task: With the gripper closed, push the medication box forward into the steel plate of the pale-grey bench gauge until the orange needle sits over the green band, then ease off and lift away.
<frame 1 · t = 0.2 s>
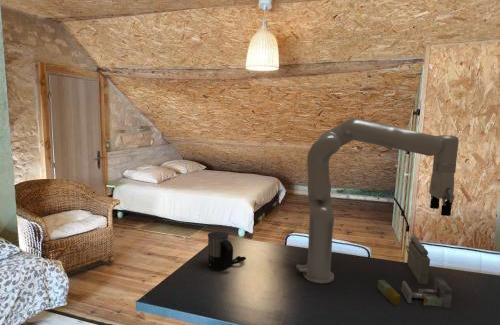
hand: (439, 211, 128), 31 cm above the table, tool pointing down, fingers open, 9 cm apart
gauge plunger: (421, 294, 121), point 3 cm above the table, slide at 0.0 cm
milk frother: (226, 265, 148), on the table
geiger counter: (413, 270, 146), on the table
gauge housing: (434, 300, 122), on the table
medication box: (387, 297, 125), on the table
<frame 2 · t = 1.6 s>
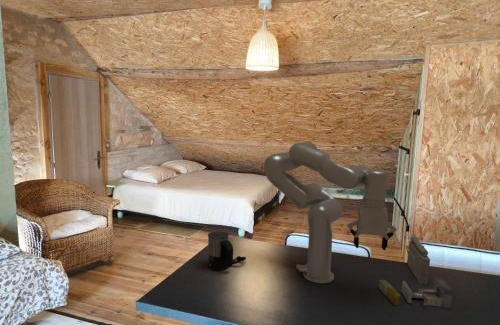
hand: (369, 247, 123), 18 cm above the table, tool pointing down, fingers open, 9 cm apart
nothing on the table moved.
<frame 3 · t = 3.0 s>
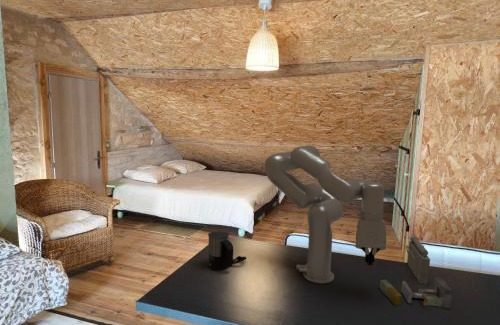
hand: (369, 263, 124), 12 cm above the table, tool pointing down, fingers closed
nothing on the table moved.
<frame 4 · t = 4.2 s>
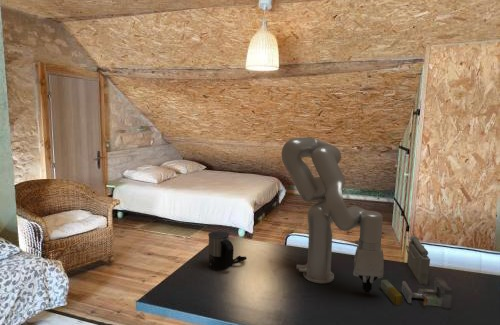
hand: (366, 290, 125), 1 cm above the table, tool pointing down, fingers closed
nothing on the table moved.
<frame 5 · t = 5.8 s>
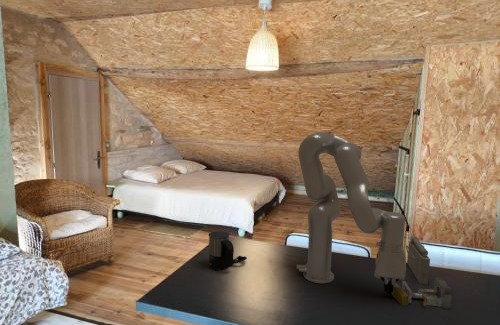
hand: (388, 292, 124), 1 cm above the table, tool pointing down, fingers closed
medication box: (396, 297, 125), on the table, touching gripper
everything else where it was.
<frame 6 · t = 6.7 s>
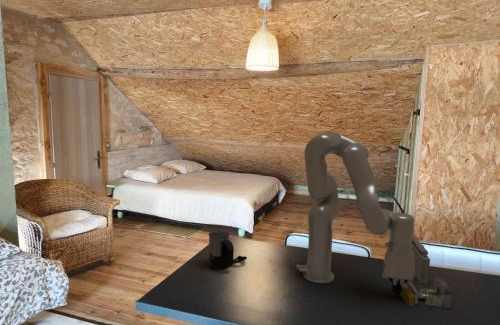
hand: (396, 293, 124), 1 cm above the table, tool pointing down, fingers closed
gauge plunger: (427, 295, 121), point 3 cm above the table, slide at 2.1 cm
medication box: (404, 297, 124), on the table
everything else where it was.
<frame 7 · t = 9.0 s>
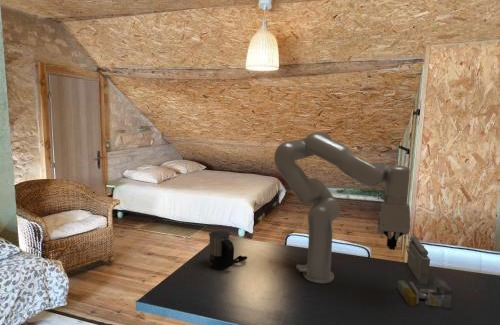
hand: (391, 248, 122), 19 cm above the table, tool pointing down, fingers closed
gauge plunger: (429, 295, 121), point 3 cm above the table, slide at 2.5 cm
everything else where it was.
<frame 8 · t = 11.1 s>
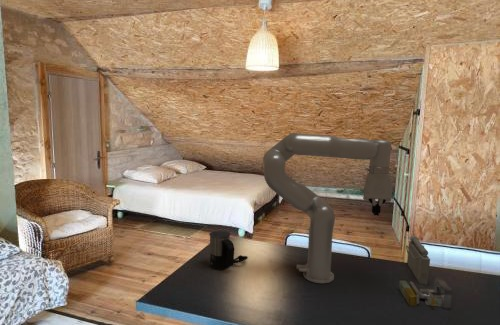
hand: (375, 214, 136), 27 cm above the table, tool pointing down, fingers closed
at the end: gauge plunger slide at 2.6 cm; medication box inside the target area (0.9 cm from its centre), on the table; the gripper is holding nothing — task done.
